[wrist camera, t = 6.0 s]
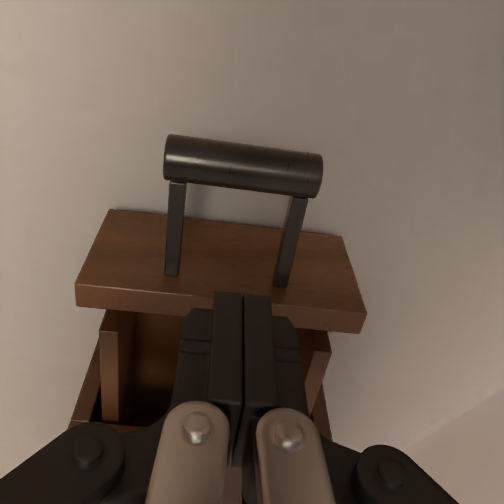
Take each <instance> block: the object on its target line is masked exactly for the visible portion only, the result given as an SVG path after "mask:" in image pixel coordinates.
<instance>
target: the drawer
mask: <svg viewBox="0 0 504 504" xmlns="http://www.w3.org/2000/svg"><path fill="white" fill-rule="evenodd" d="M163 176H164V179H165V180H170V183H169V199H168V215H167V216H165V215H157V214H148V213H140V212H131V211H123V210H114V209H109V210H108V212H107V215H106V217H105V219H104V221H103V223H102V225H101V228H100V230H99V232H98V234H97V236H96V238H95V241H94V243H93V245H92V247H91V249H90V251H89V254H88V256H87V258H86V260H85V262H84V264H83V267H82V269H81V271H80V273H79V275H78V277H77V280H76V282H75V297H76V306H79V307H89V308H99V309H106V312H105V315H104V318H103V321H102V323H101V326H100V329H99V346H100V374H101V402H102V423H105V424H114V425H128V426H141V427H148V426H151V425H153V424H154V423H156V422H157V421H158V420H160V419H161V418H162V417H163V416H164V415H165V414H166V412H167V410H168V409H169V407H170V404H171V400H172V394H173V387H174V380H175V373H176V366H177V359H178V352H179V346H180V339H181V332H182V325H183V320H184V319H185V317H186V316H187V315H188V314H189V312H190V311H191V310H192V308H202V309H212V306H213V299H214V292H215V290H217V291H226V292H236V293H242V296H243V293H246V294H256V295H265V296H270V297H271V305H272V315H273V316H282V317H288V318H289V319H290V321H291V323H292V324H293V326H294V327H295V329H296V330H297V332H298V339H299V347H300V348H299V350H300V354H301V363H302V368H303V376H304V383H305V390H306V398H307V405H308V411H309V416H310V415H311V412H312V409H313V406H314V403H315V400H316V397H317V394H318V391H319V388H320V386H321V383H322V380H323V377H324V374H325V371H326V368H327V365H328V362H329V359H330V356H331V353H332V351H331V347H330V342H329V337H328V333H327V331H333V332H344V333H354V334H359V333H360V331H361V329H362V326H363V323H364V321H365V318H366V315H367V311H366V308H365V305H364V302H363V299H362V296H361V293H360V290H359V287H358V284H357V281H356V278H355V275H354V272H353V269H352V266H351V263H350V260H349V257H348V254H347V251H346V248H345V245H344V242H343V239H342V237H341V236H333V235H325V234H316V233H308V232H301V228H302V224H303V220H304V216H305V211H306V207H307V203H308V198H315V197H316V196H317V194H318V192H319V189H320V186H321V182H322V176H323V159H322V156H321V155H319V154H313V153H306V152H298V151H291V150H284V149H276V148H269V147H262V146H254V145H247V144H240V143H232V142H225V141H217V140H210V139H203V138H195V137H188V136H181V135H173V134H170V135H168V137H167V140H166V144H165V151H164V162H163ZM187 183H194V184H202V185H210V186H218V187H226V188H234V189H242V190H250V191H257V192H265V193H273V194H281V195H289V196H290V200H289V205H288V209H287V214H286V218H285V223H284V228H283V229H274V228H266V227H257V226H249V225H241V224H232V223H224V222H215V221H207V220H199V219H190V218H184V214H185V202H186V190H187Z"/></svg>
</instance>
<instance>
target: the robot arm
mask: <svg viewBox="0 0 504 504" xmlns="http://www.w3.org/2000/svg"><path fill="white" fill-rule="evenodd" d="M299 348H300V347H299V339H298V332H297V330H296V329H295V327H294V326H293V324H292V323H291V321H290V319H289V318H288V317H282V316H273V315H272V305H271V297H270V296H265V295H256V294H246V293H243V296H242V293H236V292H226V291H217V290H215V292H214V299H213V306H212V309H202V308H192V310H191V311H190V312H189V314H188V315H187V316H186V317H185V319H184V320H183V325H182V332H181V339H180V346H179V352H178V359H177V366H176V373H175V380H174V387H173V394H172V400H171V404H170V407H169V409H168V410H167V412H166V414H165V415H164V416H163V417H162V418H161V419H160V420H158V421H157V422H156V423H154V424H153V425H151V426H148V427H146V428H143V429H140V430H136V431H131V432H127V433H122V434H120V433H119V432H118V431H117V430H116V429H115V428H113V427H112V426H110V425H108V424H105V423H101V422H86V423H81V424H78V425H76V426H73V427H71V428H70V429H68V430H66V431H65V432H63V433H62V434H61V435H59V436H58V437H57V438H55V439H54V440H53V441H51V442H50V443H49V444H47V445H46V446H45V447H43V448H42V449H40V450H39V451H38V452H36V453H35V454H34V455H32V456H31V457H30V458H28V459H27V460H26V461H24V462H23V463H22V464H20V465H19V466H17V467H16V468H15V469H13V470H12V471H11V472H9V473H8V474H7V475H5V476H4V477H3V478H1V479H0V504H222V501H223V491H224V482H225V473H226V467H229V462H230V457H231V467H237V468H242V487H241V491H240V495H239V504H459V503H458V502H457V501H456V500H454V499H453V498H452V497H451V496H450V495H449V494H448V493H447V492H446V491H445V490H444V489H443V488H442V487H441V486H440V485H439V484H437V483H436V482H435V481H434V480H433V479H432V478H431V477H430V476H429V475H428V474H427V473H426V472H424V470H423V469H421V468H420V467H419V466H418V465H417V464H416V463H415V462H414V461H413V460H412V459H411V458H410V457H409V456H407V455H406V454H405V453H403V452H402V451H400V450H398V449H396V448H394V447H391V446H387V445H373V446H370V447H368V448H366V449H365V450H364V451H363V452H362V453H359V452H357V451H354V450H352V449H349V448H347V447H344V446H341V445H339V444H337V443H334V442H332V441H331V440H329V439H328V438H326V437H325V436H324V435H322V434H321V433H320V432H319V431H318V429H317V428H316V426H315V424H314V423H313V422H312V421H311V418H310V416H309V411H308V405H307V398H306V390H305V383H304V376H303V368H302V363H301V354H300V350H299Z"/></svg>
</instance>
